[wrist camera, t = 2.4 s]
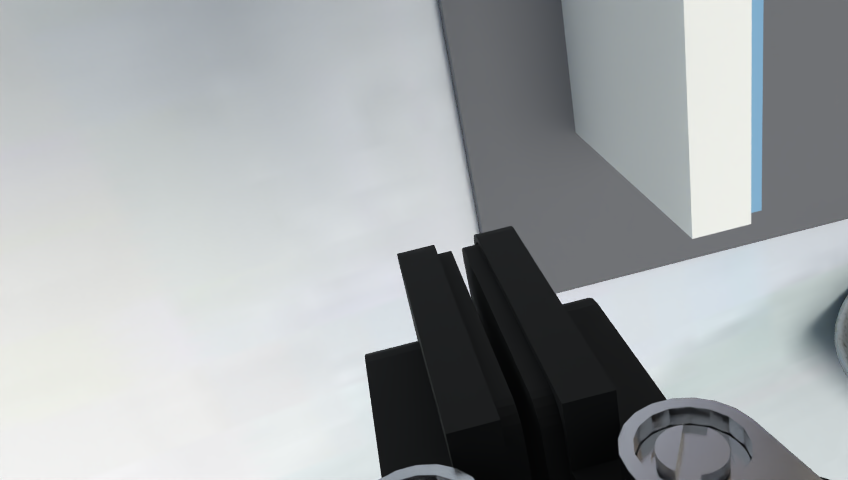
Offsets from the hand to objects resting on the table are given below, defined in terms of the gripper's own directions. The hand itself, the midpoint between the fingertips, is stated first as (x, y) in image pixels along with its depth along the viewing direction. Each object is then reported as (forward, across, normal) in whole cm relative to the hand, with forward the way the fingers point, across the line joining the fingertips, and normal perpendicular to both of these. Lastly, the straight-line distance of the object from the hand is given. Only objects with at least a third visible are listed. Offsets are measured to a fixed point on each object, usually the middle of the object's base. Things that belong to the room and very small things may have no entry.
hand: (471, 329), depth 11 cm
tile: (+16, -8, -1) cm, 18 cm away
